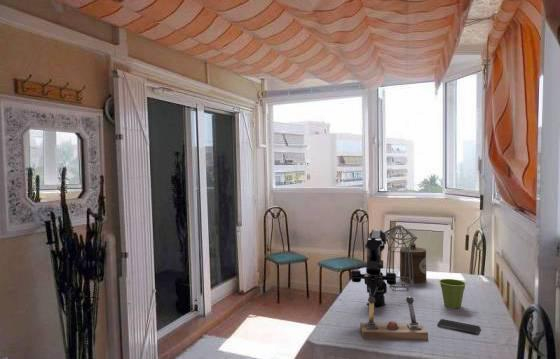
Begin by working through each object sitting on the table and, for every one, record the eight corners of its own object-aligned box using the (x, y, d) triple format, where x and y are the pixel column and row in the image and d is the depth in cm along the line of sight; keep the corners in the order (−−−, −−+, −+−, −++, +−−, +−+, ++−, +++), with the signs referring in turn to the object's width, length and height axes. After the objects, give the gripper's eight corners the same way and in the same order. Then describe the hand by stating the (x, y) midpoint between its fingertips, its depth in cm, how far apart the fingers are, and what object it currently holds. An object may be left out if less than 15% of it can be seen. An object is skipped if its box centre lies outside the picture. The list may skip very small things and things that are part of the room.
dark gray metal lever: (368, 324, 148) (368, 296, 152) (375, 325, 147) (375, 296, 151) (367, 324, 146) (367, 295, 149) (374, 325, 145) (375, 296, 148)
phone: (477, 333, 144) (436, 324, 153) (477, 336, 144) (436, 327, 153) (480, 326, 150) (441, 318, 159) (480, 329, 150) (441, 321, 159)
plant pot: (470, 311, 169) (469, 286, 169) (442, 309, 172) (441, 285, 172) (462, 302, 181) (462, 279, 181) (436, 301, 183) (436, 278, 183)
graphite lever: (409, 325, 147) (404, 296, 150) (415, 324, 147) (410, 296, 151) (412, 325, 144) (407, 296, 148) (419, 324, 144) (414, 296, 148)
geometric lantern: (410, 285, 211) (410, 223, 210) (417, 294, 195) (418, 227, 194) (381, 284, 213) (382, 222, 211) (386, 293, 197) (387, 227, 196)
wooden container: (428, 284, 212) (427, 245, 212) (401, 282, 216) (400, 244, 216) (424, 277, 227) (424, 240, 227) (399, 275, 230) (398, 240, 230)
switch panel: (360, 328, 152) (359, 318, 151) (420, 329, 150) (420, 318, 150) (363, 338, 143) (363, 327, 142) (428, 339, 141) (427, 327, 141)
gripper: (350, 251, 163) (348, 284, 153) (395, 253, 157) (395, 287, 147) (353, 265, 171) (350, 297, 160) (396, 268, 165) (396, 301, 154)
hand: (372, 295), depth 155 cm, fingers closed
